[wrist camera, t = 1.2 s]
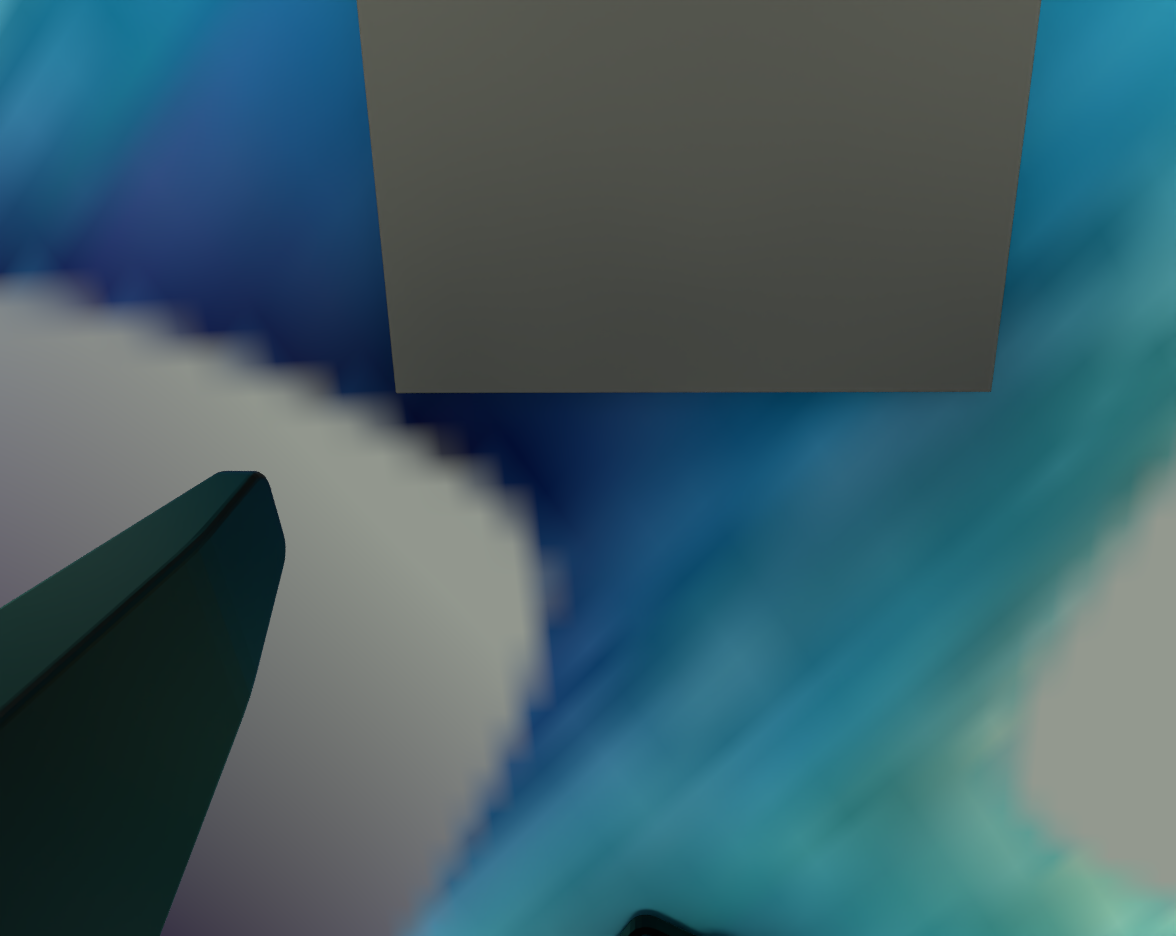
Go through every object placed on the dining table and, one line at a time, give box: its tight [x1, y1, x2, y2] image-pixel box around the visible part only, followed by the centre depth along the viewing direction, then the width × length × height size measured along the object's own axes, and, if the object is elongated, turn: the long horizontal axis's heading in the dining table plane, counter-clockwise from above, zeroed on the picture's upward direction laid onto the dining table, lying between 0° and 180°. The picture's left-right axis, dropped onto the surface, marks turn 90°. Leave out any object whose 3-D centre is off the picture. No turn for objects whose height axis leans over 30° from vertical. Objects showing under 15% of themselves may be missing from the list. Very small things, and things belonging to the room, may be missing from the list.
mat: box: [357, 0, 1041, 393], centre depth 19 cm, size 12×12×1 cm
